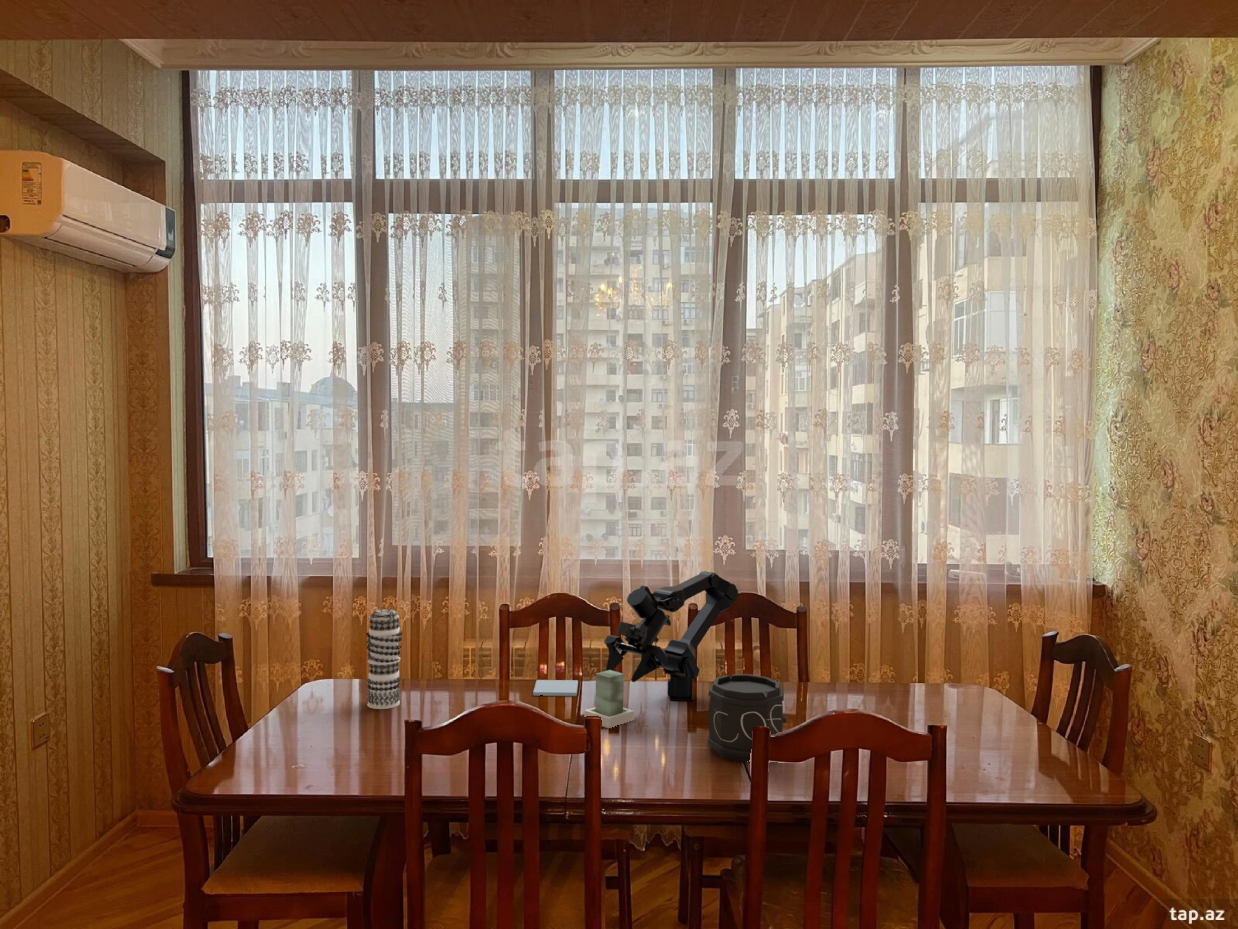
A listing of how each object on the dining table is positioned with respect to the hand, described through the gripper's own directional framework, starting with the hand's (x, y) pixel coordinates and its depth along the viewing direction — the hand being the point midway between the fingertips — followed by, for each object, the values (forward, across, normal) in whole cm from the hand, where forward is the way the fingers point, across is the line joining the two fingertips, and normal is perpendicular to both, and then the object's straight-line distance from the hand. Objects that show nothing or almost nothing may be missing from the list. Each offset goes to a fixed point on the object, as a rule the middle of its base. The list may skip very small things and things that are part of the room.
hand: (619, 677), depth 223 cm
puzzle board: (+10, 0, +5) cm, 11 cm away
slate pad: (+4, -29, +10) cm, 31 cm away
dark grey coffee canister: (+4, +37, +11) cm, 39 cm away
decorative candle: (+34, -50, -19) cm, 64 cm away
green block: (+10, 0, +5) cm, 11 cm away
